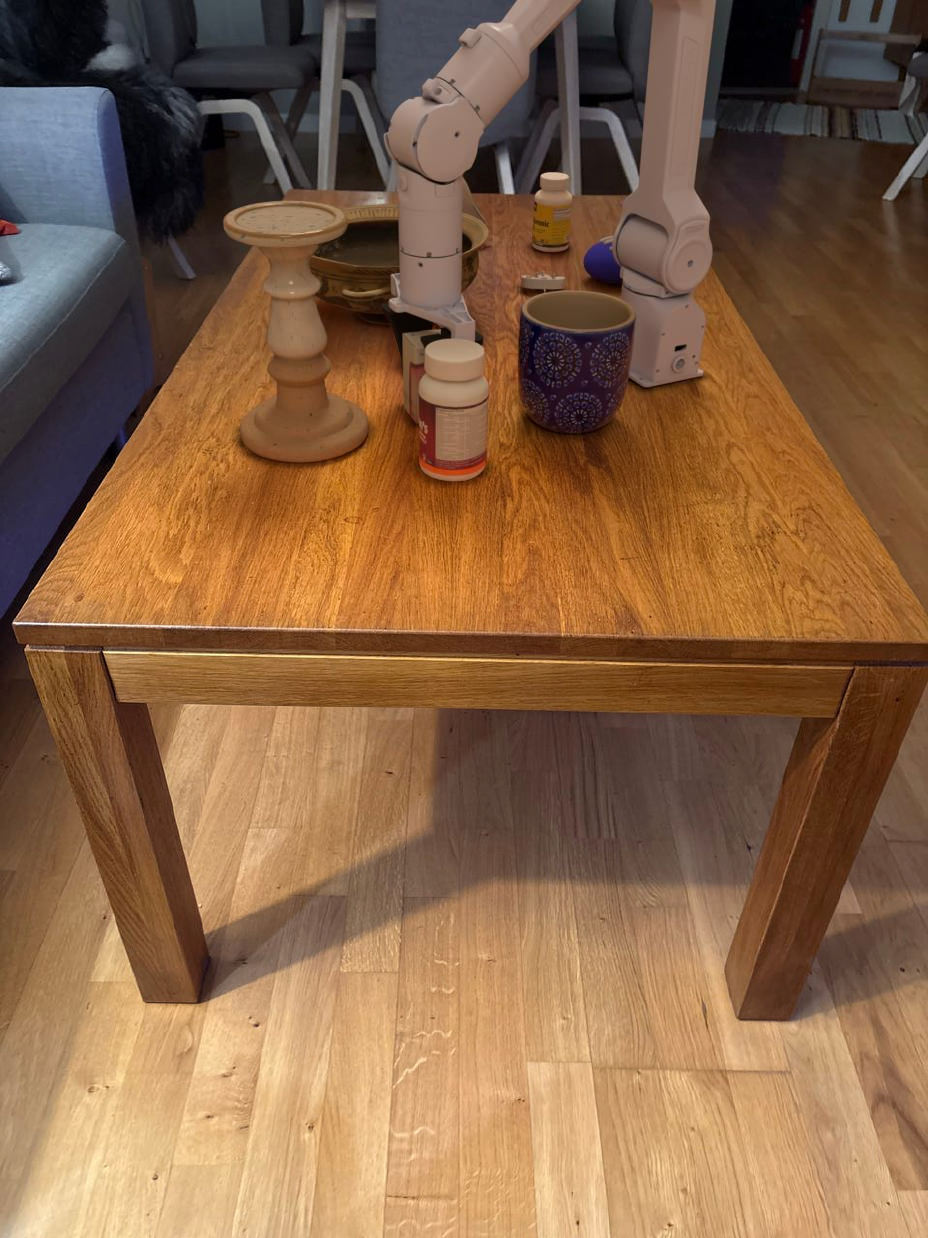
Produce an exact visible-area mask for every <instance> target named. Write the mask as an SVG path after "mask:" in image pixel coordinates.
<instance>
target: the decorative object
mask: <svg viewBox="0 0 928 1238" xmlns="http://www.w3.org/2000/svg"><path fill="white" fill-rule="evenodd" d="M613 236H614V235H610V236H606V237H603V238H601V239H600V240H599V241H598V242H597V243H595V244H593V245H591V247H590V248H589V249H588V250H587V251H586V253H584V256H583V260H582V263H583V264H582V265H583V268H584V271H585V272H586V274H587V275H589V277H591V278H592V279H594V280H596V281H599V282H602V283H607V284H613V285H614V284H615V285H616V284H620V285H622V284H623V279H622V278H621V277H620V270H621V266H619V265H618V264H617V262H616V261H615V259H614V257H613V253H612V241H613Z"/></svg>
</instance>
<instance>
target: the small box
mask: <svg viewBox="0 0 928 1238" xmlns="http://www.w3.org/2000/svg"><path fill="white" fill-rule="evenodd" d="M438 333H439V334H441V328H439V329H432V330H424V331H419V332H411V333H403V370H402V386H403V388H402V389H403V393H402V394H403V395H402V396H403V397H402V398H403V407H404V409H405V411H406V413H407V414H408V415H409V417H410V418H411V419H412V420H413V422H414V424H419V382H420V380H421V378H422V377H423V376H424V374H426V371H425V369H424V362H425V348H424V346H423V344H422V343H421V341H420V337H421V336H426V335H432V334H438Z"/></svg>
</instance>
